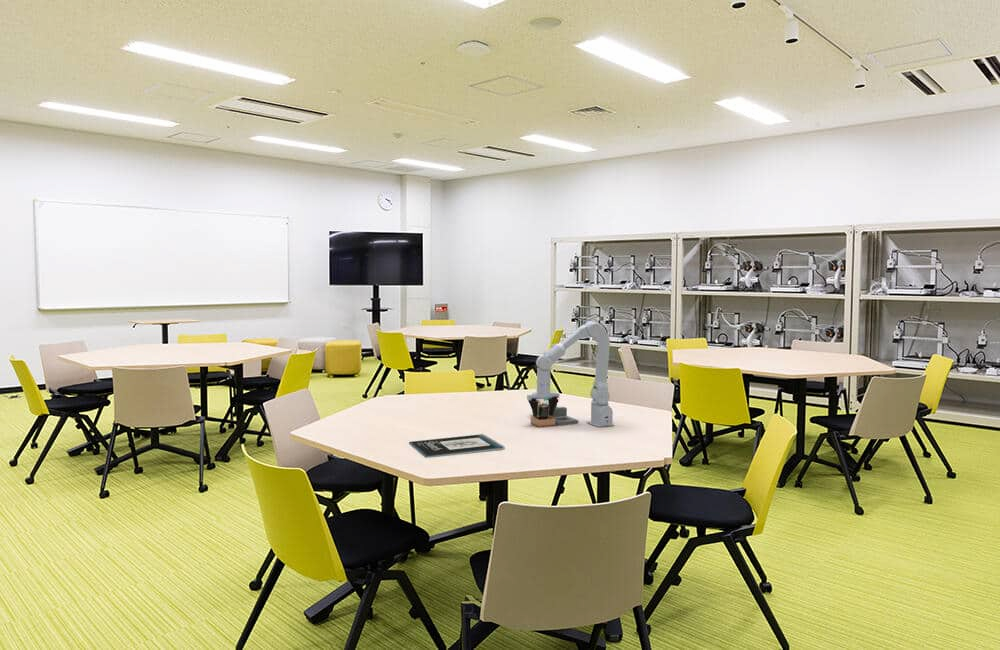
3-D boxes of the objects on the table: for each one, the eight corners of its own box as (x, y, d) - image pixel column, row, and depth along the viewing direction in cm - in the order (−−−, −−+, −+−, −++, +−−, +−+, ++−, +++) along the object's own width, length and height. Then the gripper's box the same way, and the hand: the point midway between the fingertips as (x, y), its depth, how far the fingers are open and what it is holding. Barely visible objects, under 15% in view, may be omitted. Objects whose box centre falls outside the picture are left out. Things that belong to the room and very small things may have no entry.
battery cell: (549, 423, 285) (549, 403, 284) (541, 424, 283) (541, 404, 282) (544, 421, 288) (545, 402, 288) (536, 422, 287) (536, 403, 286)
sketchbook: (409, 445, 252) (409, 439, 252) (483, 438, 264) (483, 432, 264) (425, 459, 232) (425, 453, 232) (505, 451, 244) (505, 445, 244)
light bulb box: (553, 401, 308) (555, 390, 299) (556, 414, 304) (558, 403, 295) (530, 403, 307) (531, 392, 298) (532, 416, 303) (533, 405, 294)
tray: (555, 425, 284) (555, 418, 284) (539, 427, 281) (539, 420, 280) (546, 422, 291) (546, 415, 291) (530, 423, 288) (530, 416, 287)
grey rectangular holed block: (578, 423, 288) (578, 411, 288) (557, 425, 284) (558, 413, 284) (563, 417, 300) (563, 406, 300) (543, 419, 296) (543, 407, 296)
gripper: (553, 381, 291) (553, 412, 292) (523, 383, 285) (523, 415, 286) (562, 384, 285) (561, 415, 286) (531, 386, 279) (531, 418, 280)
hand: (543, 415), depth 285 cm, fingers open, 7 cm apart
